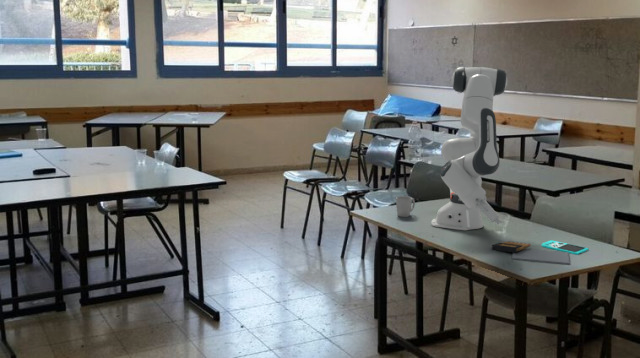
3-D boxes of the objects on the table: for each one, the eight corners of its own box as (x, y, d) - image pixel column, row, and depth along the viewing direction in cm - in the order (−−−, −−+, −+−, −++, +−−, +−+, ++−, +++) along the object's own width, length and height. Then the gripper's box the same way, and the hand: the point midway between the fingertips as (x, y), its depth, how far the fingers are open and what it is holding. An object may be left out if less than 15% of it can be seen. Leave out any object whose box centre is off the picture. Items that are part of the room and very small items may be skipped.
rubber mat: (512, 259, 249) (512, 257, 249) (513, 249, 262) (513, 247, 262) (569, 264, 243) (569, 263, 243) (568, 253, 256) (568, 252, 256)
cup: (392, 215, 316) (392, 197, 315) (408, 212, 321) (409, 195, 320) (402, 218, 310) (402, 200, 308) (419, 215, 315) (419, 197, 313)
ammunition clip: (491, 244, 261) (508, 239, 269) (491, 249, 262) (509, 244, 269) (515, 247, 253) (533, 242, 261) (516, 252, 254) (533, 247, 261)
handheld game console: (551, 242, 274) (551, 239, 273) (589, 251, 262) (589, 247, 262) (538, 247, 267) (538, 244, 267) (577, 256, 255) (577, 252, 255)
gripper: (486, 197, 243) (511, 223, 245) (475, 185, 263) (499, 210, 265) (473, 208, 244) (498, 235, 246) (463, 196, 264) (487, 221, 266)
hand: (498, 222), depth 255 cm, fingers closed
